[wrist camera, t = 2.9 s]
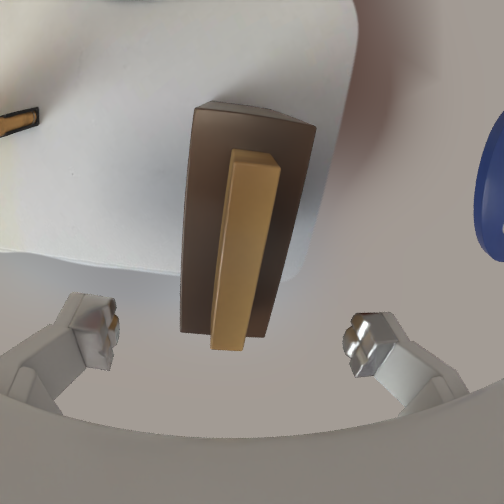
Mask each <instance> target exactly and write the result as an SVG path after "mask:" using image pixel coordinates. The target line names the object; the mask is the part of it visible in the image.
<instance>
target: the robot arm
mask: <svg viewBox="0 0 504 504" xmlns="http://www.w3.org/2000/svg"><path fill="white" fill-rule="evenodd" d="M502 230H503V233H504V224H503V229H502ZM116 308H117V307H116V302H115V299H114V298H110V297H103V296H97V295H91V294H83V293H78V292H72V293H71V294H70V295H69V297H68V298H67V300H66V302H65V304H64V306H63V308H62V309H61V311H60V313H59V315H58V317H57V319H56V321H55V323H54V325H52V324H49V325H48V326H46V327H44V328H43V329H42V330H40V331H38V332H37V333H35V334H33V335H32V336H30V337H29V338H27V339H26V340H24V341H23V342H21V343H20V344H18V345H17V346H15V347H13V348H12V349H10V350H9V351H7V352H6V353H4V354H3V355H1V356H0V504H504V378H503V379H501V380H499V381H497V382H495V383H493V384H491V385H488V386H486V387H484V388H482V389H480V390H477V391H475V392H472V393H469V391H468V389H467V387H466V386H465V384H464V382H463V381H462V379H461V377H460V376H459V374H458V372H457V371H456V370H455V369H453V368H452V367H451V366H449V365H448V364H446V363H445V362H443V361H442V360H440V359H439V358H438V357H436V356H435V355H433V354H432V353H430V352H429V351H427V350H426V349H424V348H423V347H421V346H420V345H419V344H417V343H416V342H414V341H410V340H409V338H408V336H407V335H406V333H405V332H404V330H403V329H402V327H401V325H400V324H399V322H398V321H397V319H396V317H395V316H394V314H392V313H391V312H379V313H356V314H355V315H354V316H353V317H352V319H351V324H352V326H351V327H349V328H348V329H347V330H346V332H345V334H344V336H343V349H344V352H345V354H346V355H347V356H348V357H349V358H351V360H350V363H349V364H350V367H351V369H352V372H353V374H354V376H355V377H367V376H374V377H375V378H376V379H377V380H378V381H379V382H380V383H381V384H382V385H383V386H384V387H385V388H386V389H387V390H388V391H389V392H390V393H391V394H392V395H393V396H394V397H395V398H396V399H397V400H398V401H399V402H400V403H401V404H403V405H404V406H405V408H404V409H403V410H402V411H401V413H400V414H399V415H398V417H397V418H394V419H390V420H386V421H381V422H377V423H373V424H368V425H363V426H357V427H352V428H347V429H341V430H334V431H328V432H320V433H312V434H304V435H293V436H281V437H264V438H201V437H185V436H184V437H183V436H173V435H161V434H153V433H146V432H139V431H132V430H126V429H120V428H115V427H110V426H104V425H100V424H95V423H91V422H86V421H82V420H78V419H74V418H70V417H67V416H63V414H62V412H61V410H60V409H59V408H58V406H57V405H56V403H55V402H54V400H55V399H56V398H57V397H58V396H59V395H60V394H61V393H62V392H63V391H64V390H65V389H66V388H67V387H68V386H69V385H70V384H71V383H72V382H73V381H74V380H75V379H76V378H77V377H78V376H79V375H80V374H81V373H82V372H83V371H84V370H85V369H86V367H89V368H95V369H101V370H107V371H110V367H111V364H112V360H113V357H114V354H113V350H112V348H113V347H115V346H116V345H117V342H118V339H119V330H120V328H119V318H118V317H117V316H116V315H115V311H116Z"/></svg>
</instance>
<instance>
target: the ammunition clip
mask: <svg viewBox="0 0 504 504" xmlns="http://www.w3.org/2000/svg"><path fill="white" fill-rule="evenodd" d="M34 126H38V107H35V108H31V109H26V110H22V111H17V112H13V113H9V114H6V115H2V116H0V138H1V137H5V136H8V135H10V134H13V133H16V132H19V131H22V130H25V129H28V128H31V127H34Z"/></svg>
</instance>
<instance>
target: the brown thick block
mask: <svg viewBox="0 0 504 504" xmlns="http://www.w3.org/2000/svg"><path fill="white" fill-rule="evenodd" d="M316 129H317V128H316V126H314V125H312V124H309V123H307V122H304V121H302V120H299V119H296V118H294V117H291V116H288V115H285V114H282V113H279V112H277V111H274V110H271V109H266V108H260V107H254V106H247V105H240V104H232V103H224V102H215V101H210V102H207V103H205V104H203V105H201V106H199V107H196V108H195V109H194V115H193V123H192V131H191V140H190V149H189V158H188V168H187V179H186V191H185V203H184V218H183V234H182V255H181V284H180V285H181V286H180V332H183V333H195V334H206V335H211V311H212V301H213V292H214V282H215V273H216V265H217V256H218V248H219V240H220V232H221V224H222V216H223V208H224V201H225V194H226V186H227V179H228V172H229V165H230V158H231V152H232V149H241V150H249V151H256V152H263V153H269V154H271V156H272V157H273V158H274V160H275V161H276V162H277V164H278V165H279V166H280V168H281V172H280V177H279V182H278V187H277V192H276V197H275V202H274V206H273V211H272V216H271V221H270V226H269V231H268V235H267V240H266V245H265V250H264V254H263V259H262V264H261V268H260V273H259V278H258V282H257V287H256V292H255V296H254V301H253V306H252V310H251V315H250V319H249V324H248V329H247V333H246V337H261V338H263V337H265V334H266V330H267V327H268V323H269V320H270V316H271V312H272V309H273V305H274V301H275V298H276V294H277V290H278V286H279V283H280V279H281V275H282V271H283V268H284V264H285V260H286V256H287V252H288V248H289V244H290V240H291V236H292V232H293V228H294V224H295V220H296V216H297V212H298V208H299V204H300V199H301V195H302V191H303V187H304V182H305V178H306V174H307V169H308V165H309V160H310V156H311V151H312V147H313V142H314V138H315V133H316Z"/></svg>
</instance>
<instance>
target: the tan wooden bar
mask: <svg viewBox="0 0 504 504" xmlns="http://www.w3.org/2000/svg"><path fill="white" fill-rule="evenodd" d="M280 172H281V168H280V166H279V165H278V164H277V162H276V161H275V160H274V158H273V157H272V156H271V154H269V153H263V152H256V151H249V150H241V149H232V152H231V158H230V165H229V172H228V179H227V186H226V194H225V201H224V208H223V216H222V224H221V232H220V240H219V248H218V256H217V265H216V273H215V282H214V292H213V301H212V311H211V338H210V339H211V341H210V348H211V349H213V350H229V351H242V350H243V347H244V342H245V338H246V333H247V329H248V324H249V319H250V315H251V310H252V306H253V301H254V296H255V292H256V287H257V282H258V278H259V273H260V268H261V264H262V259H263V254H264V250H265V245H266V240H267V235H268V231H269V226H270V221H271V216H272V211H273V206H274V202H275V197H276V192H277V187H278V182H279V177H280Z"/></svg>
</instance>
